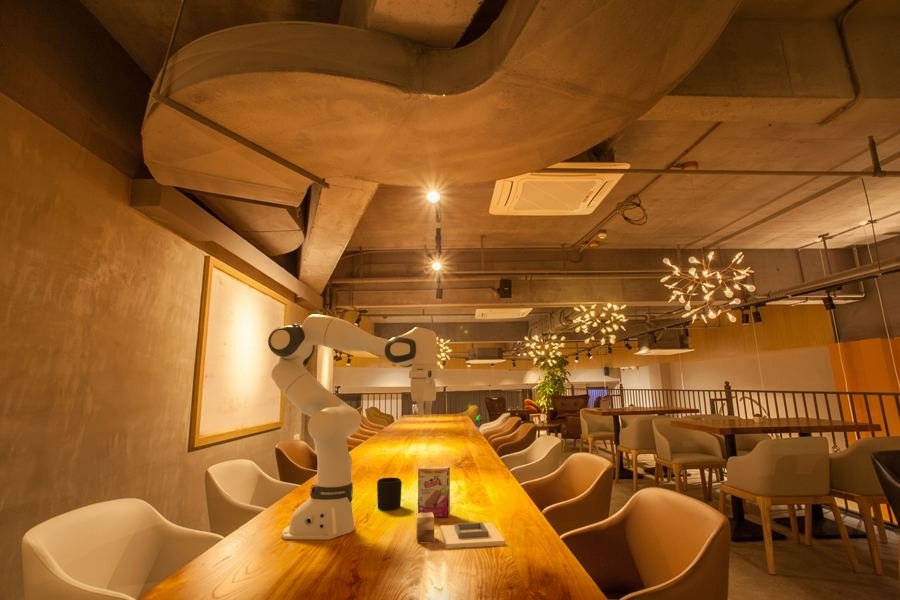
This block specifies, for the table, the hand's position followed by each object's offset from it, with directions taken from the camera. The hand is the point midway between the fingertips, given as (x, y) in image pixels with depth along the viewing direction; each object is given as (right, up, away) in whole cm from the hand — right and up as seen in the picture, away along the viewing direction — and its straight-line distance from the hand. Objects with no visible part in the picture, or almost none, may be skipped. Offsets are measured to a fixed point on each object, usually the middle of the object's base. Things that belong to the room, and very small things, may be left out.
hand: (424, 415), depth 149 cm
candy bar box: (+3, -38, +8) cm, 39 cm away
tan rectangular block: (+1, -34, -16) cm, 37 cm away
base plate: (+15, -34, -14) cm, 39 cm away
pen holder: (-15, -41, +19) cm, 47 cm away
